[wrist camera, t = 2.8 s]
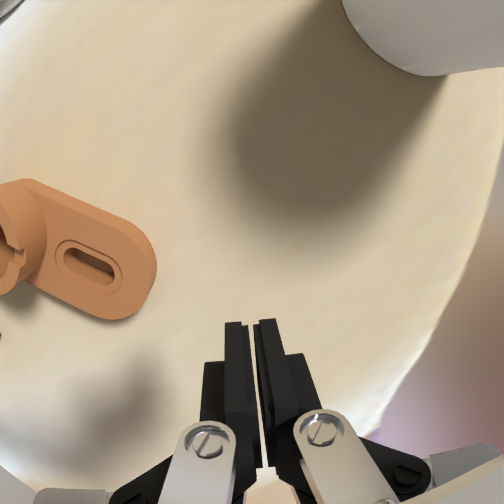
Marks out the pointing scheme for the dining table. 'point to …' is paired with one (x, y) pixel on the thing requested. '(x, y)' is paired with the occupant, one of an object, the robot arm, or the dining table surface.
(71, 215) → the bracket
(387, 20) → the utensil holder
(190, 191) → the dining table surface
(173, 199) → the dining table surface
